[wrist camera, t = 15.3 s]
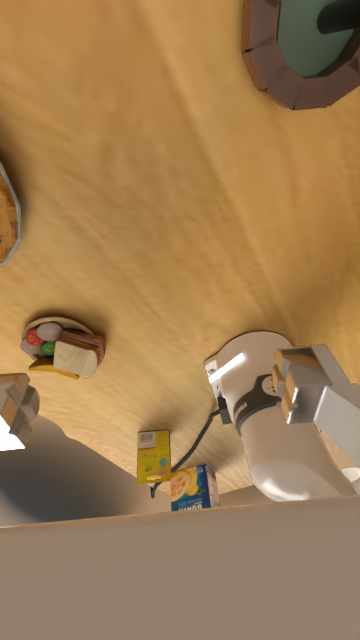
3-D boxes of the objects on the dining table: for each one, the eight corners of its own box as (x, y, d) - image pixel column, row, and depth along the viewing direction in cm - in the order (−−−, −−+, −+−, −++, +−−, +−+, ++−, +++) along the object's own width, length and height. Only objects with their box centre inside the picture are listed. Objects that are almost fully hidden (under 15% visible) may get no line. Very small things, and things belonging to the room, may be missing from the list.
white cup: (325, 424, 75) (344, 465, 67) (350, 429, 77) (372, 470, 69) (305, 441, 79) (321, 481, 71) (330, 445, 81) (348, 485, 74)
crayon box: (139, 438, 74) (137, 489, 65) (137, 432, 72) (134, 483, 63) (170, 436, 74) (172, 486, 65) (169, 429, 72) (170, 480, 63)
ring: (361, 100, 32) (376, 102, 30) (238, 111, 32) (244, 114, 30) (410, -101, 24) (437, -119, 22) (247, -86, 24) (256, -102, 22)
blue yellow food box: (215, 473, 88) (229, 570, 71) (180, 482, 91) (185, 578, 74) (205, 463, 84) (217, 563, 67) (170, 473, 87) (172, 572, 70)
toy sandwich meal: (30, 302, 48) (20, 321, 44) (115, 328, 52) (111, 348, 48) (18, 354, 55) (8, 375, 51) (93, 374, 59) (89, 394, 55)
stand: (355, 76, 32) (460, 81, 21) (269, 85, 32) (327, 94, 21) (385, -57, 26) (551, -149, 15) (280, -46, 26) (369, -130, 15)
